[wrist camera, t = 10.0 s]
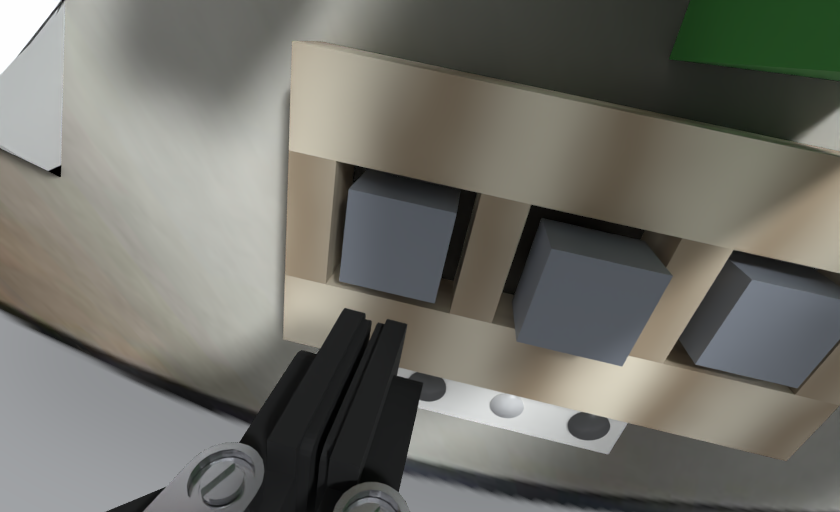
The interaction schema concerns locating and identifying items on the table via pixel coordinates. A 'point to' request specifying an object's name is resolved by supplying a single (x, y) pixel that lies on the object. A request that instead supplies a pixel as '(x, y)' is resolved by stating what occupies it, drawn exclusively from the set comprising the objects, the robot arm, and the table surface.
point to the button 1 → (397, 234)
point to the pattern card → (516, 413)
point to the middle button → (587, 292)
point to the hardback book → (763, 36)
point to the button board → (569, 192)
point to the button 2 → (765, 320)
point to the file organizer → (32, 80)
